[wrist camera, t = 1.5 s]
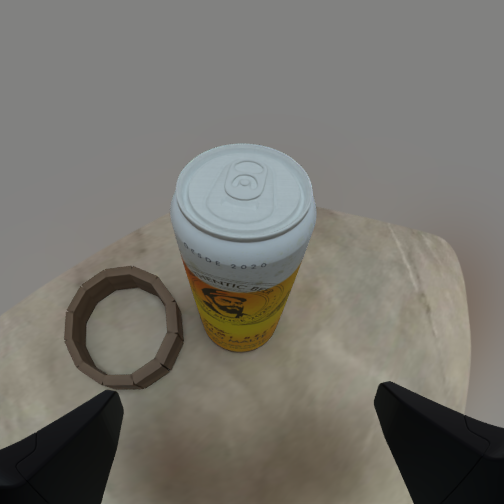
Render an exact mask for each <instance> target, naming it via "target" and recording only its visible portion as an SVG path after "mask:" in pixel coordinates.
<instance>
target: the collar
mask: <svg viewBox="0 0 504 504" xmlns="http://www.w3.org/2000/svg"><path fill="white" fill-rule="evenodd" d="M129 288H140V289H143V290H145V291H147V292H149V293H152V294H154V295H156V296H159V298H160V299H161V301H162V302H163V304H164V305H165V306H166V321H167V333H166V336H165V338H164V340H163V342H162V344H161V346H160V348H159V350H158V352H157V354H156V356H155V358H154V359H153V360H151V361H150V362H149V363H147V364H146V365H144V366H143V367H141V368H140V369H138V370H137V371H135V372H134V373H132V374H130V375H107V374H106V373H104V372H102V371H101V370H99V369H98V368H96V366H95V364H94V362H93V360H92V359H91V357H90V355H89V353H88V351H87V349H86V347H85V345H86V322H87V321H88V319H89V317H90V315H91V313H92V311H93V310H94V308H95V306H96V304H97V303H98V302H99V301H101V300H102V299H103V298H105V297H106V296H108V295H109V294H111V293H112V292H114V291H115V290H120V289H129ZM67 311H69V312H66V320H65V335H64V340H66V341H65V344H66V346H67V348H68V351H69V353H70V355H71V357H72V359H73V361H74V364H75V366H76V367H77V368H78V369H79V370H80V371H81V372H83V373H84V374H86V375H87V376H89V377H90V378H92V379H93V380H95V381H96V382H98V383H99V384H101V385H104V386H107V387H110V388H113V389H144V388H147V387H148V386H150V385H151V384H153V383H154V382H156V381H157V380H158V379H160V378H161V377H163V376H164V375H166V374H167V373H169V372H170V371H169V370H168V369H170V370H171V369H172V367H173V365H174V363H175V360H176V358H177V356H178V354H179V352H180V350H181V347H182V345H183V342H182V341H184V339H183V329H182V318H181V312H180V310H179V308H178V306H177V304H176V301H175V299H174V298H173V297H172V295H171V294H170V293H169V291H168V290H167V288H166V287H165V286H164V284H163V283H162V281H161V280H160V279H159V277H157V276H156V275H153V274H151V273H148V272H146V271H144V270H141V269H139V268H136V267H134V266H133V267H132V266H126V267H118V268H110V269H105V271H104V270H103V271H101V272H100V273H98V274H97V275H95V276H94V277H92V278H91V279H89V280H88V281H87V282H85V283H84V284H82V287H81V286H80V288H79V290H78V291H77V293H76V295H75V296H74V298H73V300H72V302H71V303H70V305H69V307H68V309H67Z"/></svg>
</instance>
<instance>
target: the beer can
mask: <svg viewBox="0 0 504 504" xmlns="http://www.w3.org/2000/svg"><path fill="white" fill-rule="evenodd" d="M170 216H171V221H172V225H173V229H174V232H175V236H176V240H177V243H178V247H179V250H180V253H181V257H182V260H183V264H184V267H185V270H186V273H187V277H188V280H189V283H190V286H191V289H192V292H193V296H194V299H195V302H196V305H197V308H198V311H199V314H200V317H201V320H202V323H203V325H204V328H205V331H206V332H207V334H208V336H209V337H210V338H211V339H212V340H213V341H214V342H215V343H216V344H217V345H219V346H220V347H222V348H224V349H227V350H230V351H236V352H245V351H250V350H253V349H256V348H258V347H260V346H262V345H263V344H264V343H266V342H267V341H268V340H269V339H270V337H271V336H272V335H273V333H274V331H275V329H276V326H277V324H278V321H279V319H280V316H281V314H282V311H283V309H284V306H285V304H286V301H287V299H288V296H289V294H290V291H291V288H292V286H293V283H294V281H295V278H296V275H297V273H298V270H299V267H300V265H301V262H302V259H303V257H304V254H305V251H306V248H307V246H308V243H309V240H310V237H311V235H312V232H313V229H314V226H315V222H316V204H315V201H314V198H313V190H312V185H311V181H310V179H309V177H308V175H307V173H306V172H305V170H304V169H303V168H302V167H301V166H300V165H299V164H298V163H297V162H296V161H295V160H293V159H292V158H291V157H289V156H288V155H286V154H284V153H282V152H280V151H278V150H275V149H272V148H269V147H265V146H261V145H255V144H231V145H224V146H220V147H216V148H213V149H211V150H208V151H206V152H204V153H202V154H200V155H198V156H197V157H195V158H194V159H193V160H191V161H190V162H189V163H188V164H187V165H186V166H185V167H184V169H183V171H182V172H181V173H180V175H179V177H178V180H177V184H176V191H175V193H174V196H173V198H172V202H171V208H170Z"/></svg>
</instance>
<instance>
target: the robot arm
mask: <svg viewBox="0 0 504 504" xmlns="http://www.w3.org/2000/svg"><path fill="white" fill-rule="evenodd" d="M374 406H375V409H376V412H377V415H378V418H379V422H380V425H381V428H382V431H383V434H384V437H385V439H386V442H387V444H388V446H389V448H390V450H391V453H392V455H393V457H394V459H395V461H396V464H397V466H398V468H399V470H400V473H401V475H402V477H403V480H404V482H405V484H406V486H407V489H408V491H409V494H410V496H411V498H412V501H413V503H414V504H504V428H501V427H497V426H494V425H490V424H487V423H484V422H481V421H478V420H476V419H473V418H471V417H468V416H466V415H463V414H461V413H459V412H457V411H454V410H452V409H450V408H447V407H445V406H443V405H441V404H438V403H436V402H434V401H432V400H430V399H427V398H425V397H423V396H421V395H419V394H416V393H414V392H412V391H410V390H408V389H406V388H404V387H402V386H400V385H397V384H395V383H393V382H391V381H388V382H383V383H380V384H379V386H378V389H377V393H376V396H375V399H374ZM123 414H124V410H123V406H122V403H121V400H120V397H119V394H118V392H116V391H112V390H105V391H103V392H102V393H100V394H98V395H97V396H95V397H94V398H92V399H90V400H89V401H87V402H85V403H84V404H82V405H81V406H79V407H77V408H76V409H74V410H72V411H71V412H69V413H67V414H66V415H64V416H63V417H61V418H59V419H58V420H56V421H54V422H52V423H51V424H49V425H47V426H46V427H44V428H42V429H41V430H39V431H37V433H34V434H32V435H30V436H28V437H26V438H25V439H23V440H21V441H19V442H17V443H15V444H12V445H10V446H8V447H6V448H3V449H1V450H0V504H101V502H102V498H103V494H104V491H105V487H106V484H107V480H108V477H109V473H110V470H111V466H112V463H113V460H114V457H115V453H116V450H117V446H118V440H119V435H120V430H121V425H122V420H123Z"/></svg>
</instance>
